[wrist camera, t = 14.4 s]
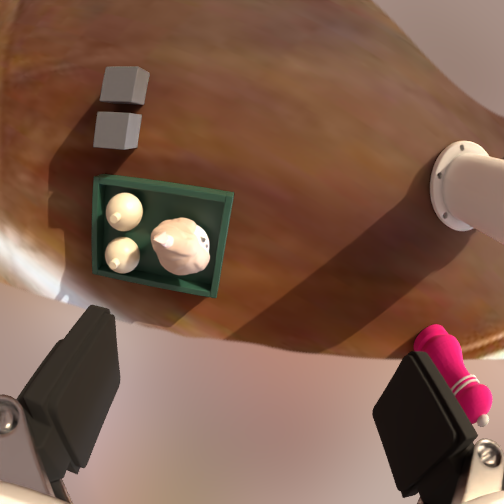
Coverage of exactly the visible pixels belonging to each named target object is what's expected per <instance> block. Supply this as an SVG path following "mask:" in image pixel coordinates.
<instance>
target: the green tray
mask: <svg viewBox="0 0 504 504" xmlns="http://www.w3.org/2000/svg"><path fill="white" fill-rule="evenodd" d="M120 193H130V194H132V195H134V196H136V197H137V198H138V199H139V201H140V202H141V204H142V208H143V215H142V218H141V221H140V222H139V224H138V225H137V226H136V227H135V228H133V229H131V230H129V231H119V230H116V229H115V228H113V227H112V226H111V225H110V224H109V222H108V220H107V218H106V207H107V205H108V202H109V201H110V200H111V199H112V198H113V197H114V196H115V195H117V194H120ZM233 197H234V192H228V191H222V190H216V189H210V188H204V187H198V186H191V185H185V184H178V183H171V182H164V181H157V180H150V179H142V178H135V177H127V176H119V175H110V174H101V175H98V176H95V177H94V181H93V199H92V273H93V274H96V275H101V276H105V277H110V278H114V279H119V280H123V281H128V282H133V283H138V284H143V285H147V286H152V287H157V288H163V289H168V290H173V291H178V292H183V293H189V294H194V295H200V296H205V297H211V298H216V297H217V292H218V287H219V281H220V274H221V268H222V262H223V256H224V250H225V244H226V238H227V232H228V226H229V220H230V214H231V209H232V203H233ZM181 217H182V218H187V219H190V220H192V221H194V222H195V223H196V225H198V226H200V227H201V228H202V229H203V230H204V231H205V232H206V234H207V237H208V239H209V255H210V260H209V262H208V264H207V266H206V267H205V269H204V270H202V271H199V272H197V273H191V274H187V275H176V274H173V273H171V272H169V271H167V270H166V269H165V268H164V267H163V266H162V265H161V264H160V261H159V259H158V256H157V253H156V252H155V251H154V249H153V247H152V243H151V233H152V231H153V230H154V229H155V228H156V227H158V225H159V224H160V223H161V222H163V221H165V220H173V219H176V218H181ZM118 237H127V238H130V239H132V240H133V241H134V242H135V243H136V244H137V246H138V248H139V251H140V259H139V263H138V264H137V266H136V267H135V268H134V269H133V270H132V271H130V272H128V273H117V272H115V271H113V270H112V269H111V268H110V267H109V266H108V264H107V262H106V259H105V251H106V248H107V246H108V244H109V243H110V242H111V241H112V240H113V239H115V238H118Z"/></svg>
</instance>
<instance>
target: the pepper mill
mask: <svg viewBox="0 0 504 504" xmlns="http://www.w3.org/2000/svg"><path fill="white" fill-rule="evenodd" d="M414 351H422V352H426V353H427V354H428V355H429V356H430V358H431V359H432V361H433V362H434V364H435V365H436V367H437V369H438V370H439V372H440V373H441V375H442V376H443V378H444V379H445V381H446V383H447V384H448V386H449V387H450V389H451V390H452V392H453V394H454V395H455V397H456V399H457V400H458V402H459V404H460V405H461V407H462V409H463V410H464V412H465V414H466V415H467V417H468V419H469V420H470V422H471V424H474V423H476V422H477V424H478V426H480V427H484V426H486V425H487V424H488V422H489V417H488V415H486V414H487V413H488V412H489V410H490V408H491V404H492V394H491V392H490V390H489V388H488V387H487V386H485V385H482V384H479V380H478V379H477V378H476V376H475V375H470V374H469V373H468V371H467V370H466V368H465V366H464V363H463V358H462V351H461V347H460V344H459V343H458V341H457V339H456V338H455V337H454V336H452V335H448V333H447V332H446V331H445V329H444V328H443V327H442V326H440V325H431V326H428V327H427V328H425V329H424V330H422V331H421V332H420V333H419V335H418V336H417V338H416V339H415V342H414Z"/></svg>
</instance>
